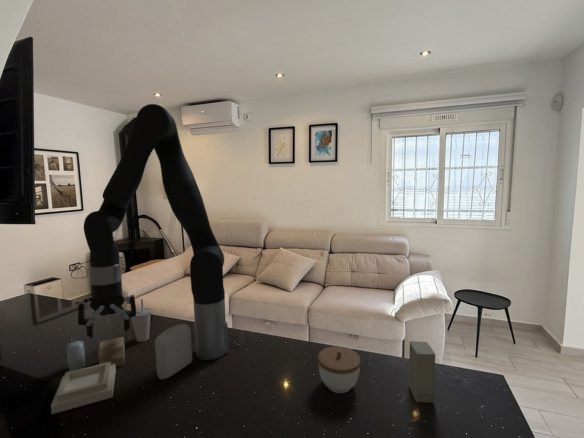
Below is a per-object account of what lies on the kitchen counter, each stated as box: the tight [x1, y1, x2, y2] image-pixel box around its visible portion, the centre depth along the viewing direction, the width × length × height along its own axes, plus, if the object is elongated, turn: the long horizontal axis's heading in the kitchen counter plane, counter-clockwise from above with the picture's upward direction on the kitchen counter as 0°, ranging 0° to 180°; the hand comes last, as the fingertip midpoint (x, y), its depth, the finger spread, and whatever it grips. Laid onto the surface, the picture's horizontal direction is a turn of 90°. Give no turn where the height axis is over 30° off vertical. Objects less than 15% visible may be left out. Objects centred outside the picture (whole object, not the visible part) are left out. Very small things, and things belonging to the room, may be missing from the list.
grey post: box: [65, 340, 86, 372], centre depth 86 cm, size 4×4×7 cm
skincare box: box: [408, 340, 436, 404], centre depth 74 cm, size 6×4×12 cm
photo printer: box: [154, 323, 193, 380], centre depth 84 cm, size 10×4×12 cm, turn 149°
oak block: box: [98, 336, 126, 368], centre depth 88 cm, size 6×6×6 cm
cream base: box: [50, 362, 117, 415], centre depth 76 cm, size 12×12×4 cm
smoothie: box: [130, 298, 153, 343], centre depth 101 cm, size 6×6×14 cm
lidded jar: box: [317, 346, 361, 394], centre depth 77 cm, size 11×11×9 cm
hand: (109, 333), depth 88 cm, fingers open, 8 cm apart
